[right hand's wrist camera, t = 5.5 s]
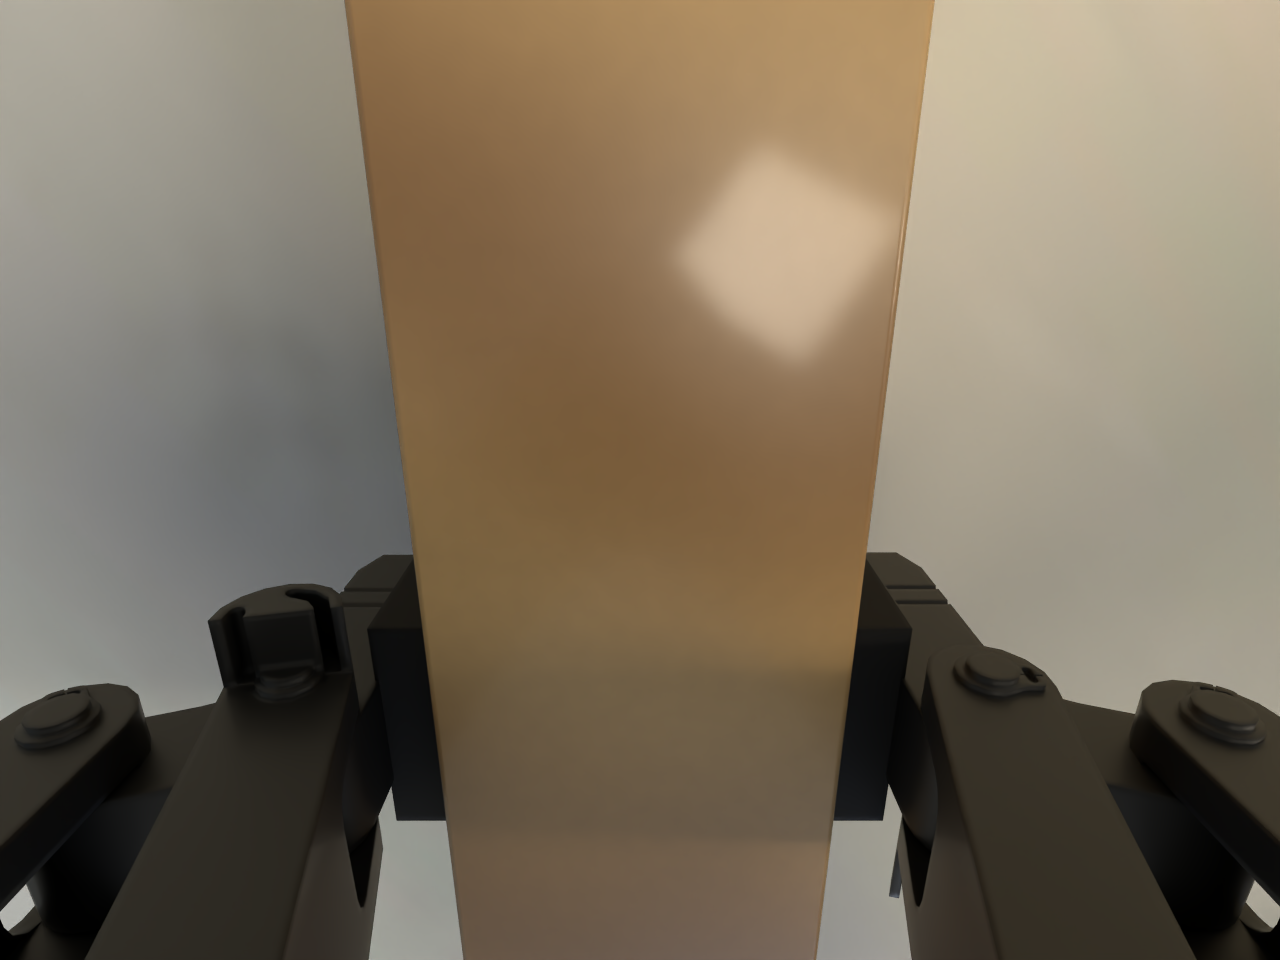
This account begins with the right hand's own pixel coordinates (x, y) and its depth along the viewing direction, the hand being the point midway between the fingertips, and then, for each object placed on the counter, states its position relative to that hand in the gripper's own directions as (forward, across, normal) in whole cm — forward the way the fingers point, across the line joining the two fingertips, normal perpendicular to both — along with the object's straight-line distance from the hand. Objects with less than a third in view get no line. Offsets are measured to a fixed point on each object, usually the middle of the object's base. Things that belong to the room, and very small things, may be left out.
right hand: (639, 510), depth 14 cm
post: (+1, 0, -34) cm, 34 cm away
